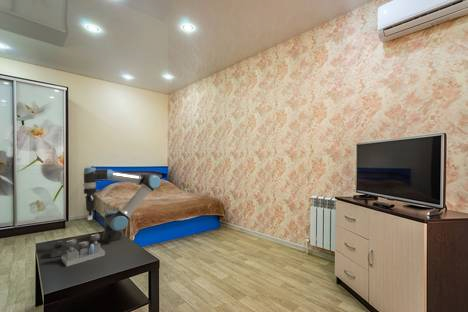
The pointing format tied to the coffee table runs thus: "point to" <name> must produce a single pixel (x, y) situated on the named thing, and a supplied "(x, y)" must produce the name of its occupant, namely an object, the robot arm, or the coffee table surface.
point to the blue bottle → (91, 248)
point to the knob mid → (84, 244)
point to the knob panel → (82, 255)
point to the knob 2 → (95, 238)
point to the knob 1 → (71, 243)
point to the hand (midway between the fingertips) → (89, 219)
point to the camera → (59, 249)
